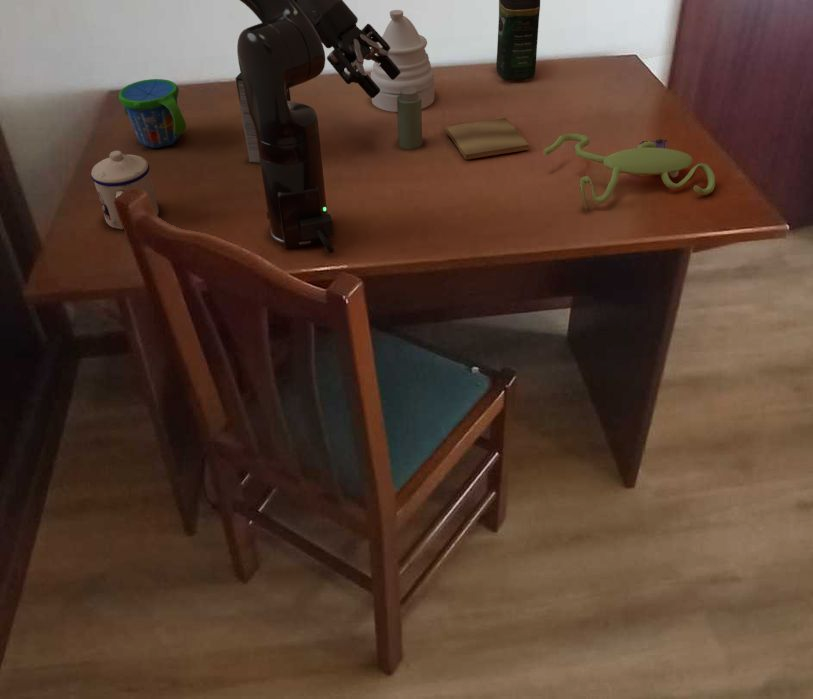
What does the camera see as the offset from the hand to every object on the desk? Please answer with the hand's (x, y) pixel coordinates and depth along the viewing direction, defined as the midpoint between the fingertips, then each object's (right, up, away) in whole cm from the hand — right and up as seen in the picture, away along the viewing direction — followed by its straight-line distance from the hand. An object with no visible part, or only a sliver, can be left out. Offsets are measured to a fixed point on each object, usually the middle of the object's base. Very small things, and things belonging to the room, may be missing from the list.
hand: (387, 85), depth 156 cm
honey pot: (+3, +4, +21) cm, 22 cm away
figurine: (+41, -19, -8) cm, 45 cm away
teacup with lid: (-42, -27, -13) cm, 51 cm away
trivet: (+18, -9, +5) cm, 21 cm away
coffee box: (-21, -11, +5) cm, 24 cm away
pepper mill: (+4, -9, +5) cm, 12 cm away
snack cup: (-44, -8, +10) cm, 45 cm away
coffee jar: (+27, +11, +29) cm, 41 cm away
